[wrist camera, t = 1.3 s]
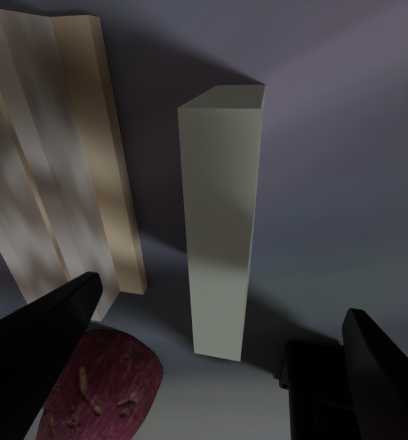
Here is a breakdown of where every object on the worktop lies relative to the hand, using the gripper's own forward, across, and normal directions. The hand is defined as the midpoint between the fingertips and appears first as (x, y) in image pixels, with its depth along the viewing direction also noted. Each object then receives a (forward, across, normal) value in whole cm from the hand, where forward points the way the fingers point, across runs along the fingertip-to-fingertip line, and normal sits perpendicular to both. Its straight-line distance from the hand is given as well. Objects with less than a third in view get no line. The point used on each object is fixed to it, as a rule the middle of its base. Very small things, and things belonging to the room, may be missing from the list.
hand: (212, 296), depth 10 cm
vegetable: (+9, +12, +21) cm, 26 cm away
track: (+8, +12, 0) cm, 15 cm away
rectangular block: (+8, 0, 0) cm, 8 cm away
